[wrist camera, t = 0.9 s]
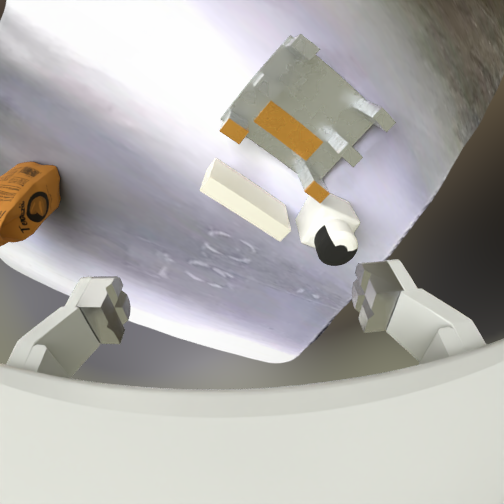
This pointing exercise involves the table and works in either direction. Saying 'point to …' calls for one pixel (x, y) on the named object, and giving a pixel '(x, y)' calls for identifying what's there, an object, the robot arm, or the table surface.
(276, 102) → the panel rack
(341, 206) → the medicine bottle
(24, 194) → the coffee package
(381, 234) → the table surface
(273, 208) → the panel
